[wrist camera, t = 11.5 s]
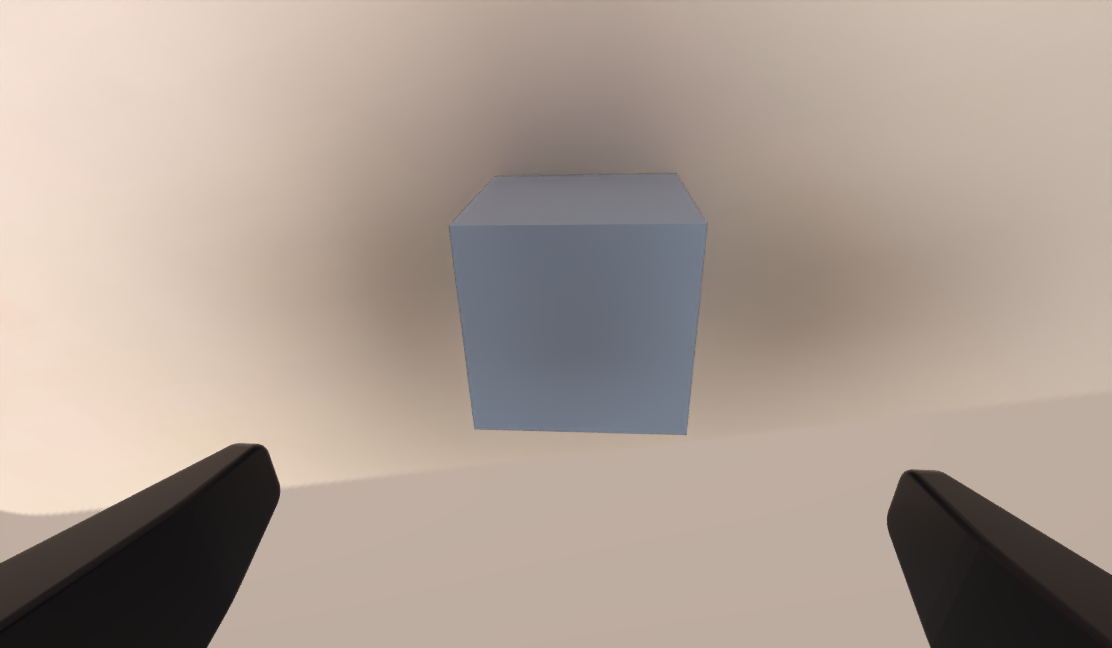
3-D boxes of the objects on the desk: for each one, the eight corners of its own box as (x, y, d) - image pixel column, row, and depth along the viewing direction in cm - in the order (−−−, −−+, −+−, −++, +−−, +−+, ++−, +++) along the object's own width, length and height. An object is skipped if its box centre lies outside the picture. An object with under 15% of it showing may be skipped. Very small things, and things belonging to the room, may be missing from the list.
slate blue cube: (675, 172, 14) (707, 223, 10) (665, 334, 17) (686, 434, 12) (495, 175, 15) (448, 225, 10) (508, 332, 17) (474, 429, 13)
